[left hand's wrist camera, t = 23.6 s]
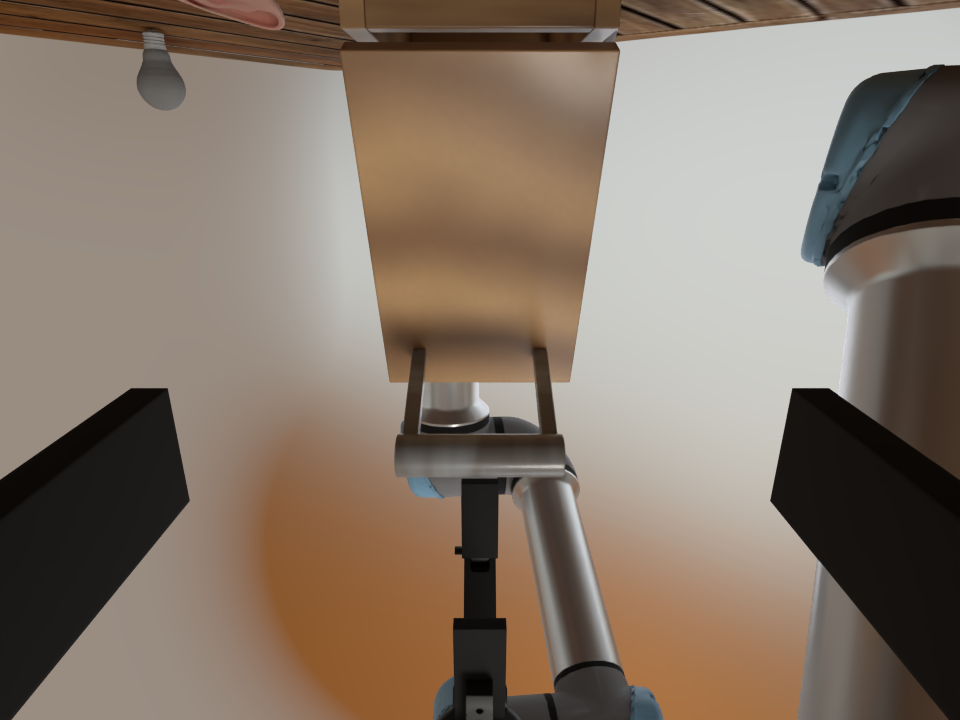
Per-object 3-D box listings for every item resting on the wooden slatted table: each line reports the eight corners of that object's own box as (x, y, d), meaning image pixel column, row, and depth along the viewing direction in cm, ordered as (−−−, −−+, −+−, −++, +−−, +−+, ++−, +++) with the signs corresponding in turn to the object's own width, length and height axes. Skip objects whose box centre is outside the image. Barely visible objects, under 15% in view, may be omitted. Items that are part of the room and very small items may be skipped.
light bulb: (167, 26, 77) (180, 109, 81) (183, 34, 83) (194, 111, 86) (118, 25, 77) (134, 108, 80) (137, 33, 82) (151, 111, 86)
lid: (568, 370, 32) (588, 501, 26) (391, 370, 32) (371, 502, 26) (616, 41, 21) (671, 141, 15) (343, 41, 21) (289, 141, 15)
